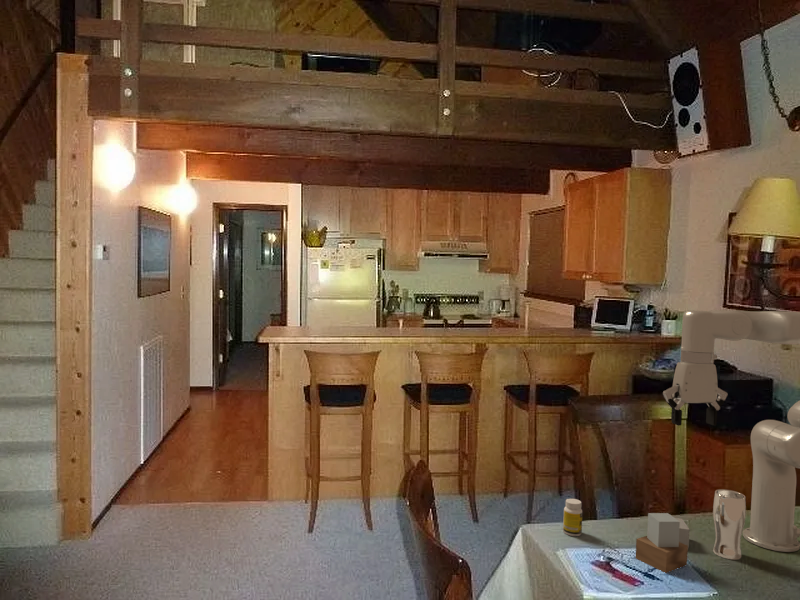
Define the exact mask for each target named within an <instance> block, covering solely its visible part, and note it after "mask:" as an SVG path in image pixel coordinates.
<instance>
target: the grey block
mask: <svg viewBox="0 0 800 600" xmlns="http://www.w3.org/2000/svg"><path fill="white" fill-rule="evenodd" d="M674 518H675V519H677V520H678V521H680V527H679V542H680V543H683V544H685V545H687V546H688V550H689V548H690V547H689V546H690V528H689V526H688V525H687V524H686V522H685V521H684V519H683V518H678V517H674Z"/></svg>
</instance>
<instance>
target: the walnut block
mask: <svg viewBox="0 0 800 600" xmlns="http://www.w3.org/2000/svg"><path fill="white" fill-rule="evenodd" d="M635 543H636V544H635V559H636V560H638V561H640V562H642V563H644V564H645V565H648V566H650V567H652V568H654V569H657V570H658V571H660V570H661V571H660V572H662V573H664V572H665V573H664V574H668V573H670V572H673V571H676V570H678V569H677V568H679V569H681V568H680V567H682V568H684V567H686V566H685V565H687V566H688V550H689V549H688V546H687V545H685V544H683V543H680V542H679V547H657V546H656V545H655V544H654V543H653V542H652V541H650V540H649V539H648V538H647V535H645V536H641V537H639V538H638V537H637V538H636V540H635ZM683 566H684V567H683ZM675 569H676V570H675ZM672 570H673V571H672ZM669 571H670V572H669ZM667 572H668V573H667Z"/></svg>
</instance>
